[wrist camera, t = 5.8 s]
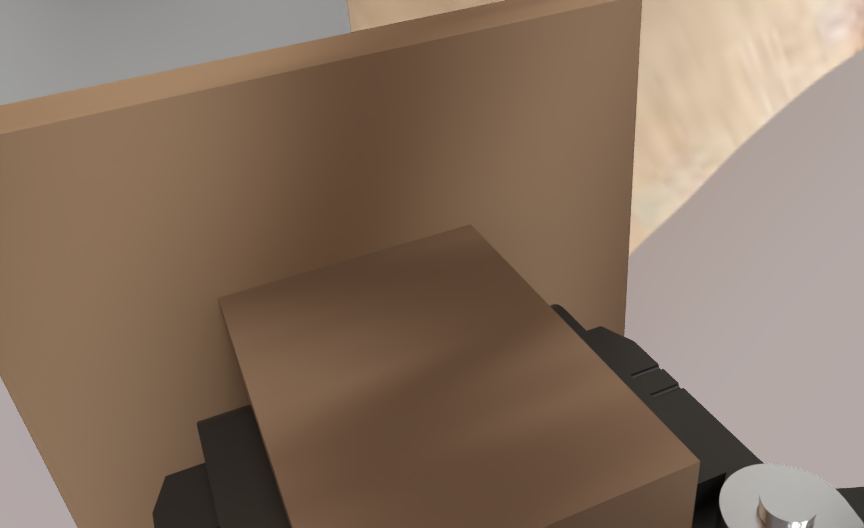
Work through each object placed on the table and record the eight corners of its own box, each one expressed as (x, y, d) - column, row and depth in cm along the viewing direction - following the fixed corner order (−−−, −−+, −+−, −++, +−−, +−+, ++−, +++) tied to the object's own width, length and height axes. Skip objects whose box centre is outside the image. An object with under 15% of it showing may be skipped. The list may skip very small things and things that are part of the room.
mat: (318, -176, 25) (321, -176, 25) (366, 163, 32) (370, 167, 31) (-96, -126, 22) (-99, -125, 22) (52, 243, 28) (52, 248, 28)
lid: (600, -19, 11) (1002, 116, 6) (589, 433, 16) (814, 702, 11) (-96, 125, 9) (-277, 518, 4) (140, 609, 14) (185, 1047, 9)
